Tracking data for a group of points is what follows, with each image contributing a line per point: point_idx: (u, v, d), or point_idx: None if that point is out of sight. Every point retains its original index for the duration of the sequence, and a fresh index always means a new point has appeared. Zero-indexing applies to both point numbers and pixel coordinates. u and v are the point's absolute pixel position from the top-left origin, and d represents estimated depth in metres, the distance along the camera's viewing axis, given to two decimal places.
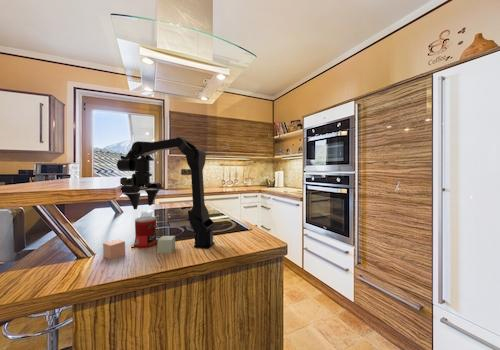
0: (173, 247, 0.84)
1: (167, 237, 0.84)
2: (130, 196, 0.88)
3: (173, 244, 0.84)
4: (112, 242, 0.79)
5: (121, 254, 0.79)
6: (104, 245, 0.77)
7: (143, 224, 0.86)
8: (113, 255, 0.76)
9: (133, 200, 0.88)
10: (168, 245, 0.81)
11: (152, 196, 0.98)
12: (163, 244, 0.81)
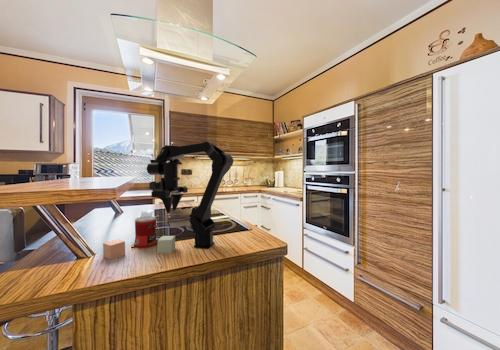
0: (173, 247, 0.84)
1: (167, 237, 0.84)
2: (163, 199, 0.90)
3: (173, 244, 0.84)
4: (112, 242, 0.79)
5: (121, 254, 0.79)
6: (104, 245, 0.77)
7: (143, 224, 0.86)
8: (113, 255, 0.76)
9: (166, 203, 0.90)
10: (168, 245, 0.81)
11: (176, 201, 0.96)
12: (163, 244, 0.81)
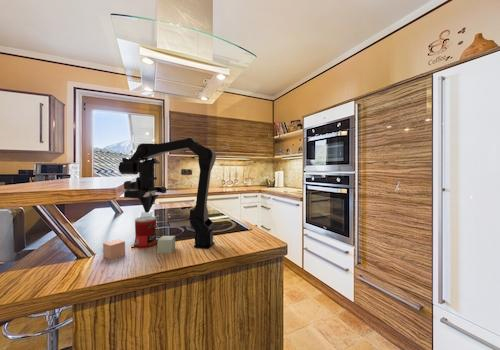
0: (173, 247, 0.84)
1: (167, 237, 0.84)
2: (142, 199, 0.88)
3: (173, 244, 0.84)
4: (112, 242, 0.79)
5: (121, 254, 0.79)
6: (104, 245, 0.77)
7: (143, 224, 0.86)
8: (113, 255, 0.76)
9: (145, 203, 0.88)
10: (168, 245, 0.81)
11: None
12: (163, 244, 0.81)
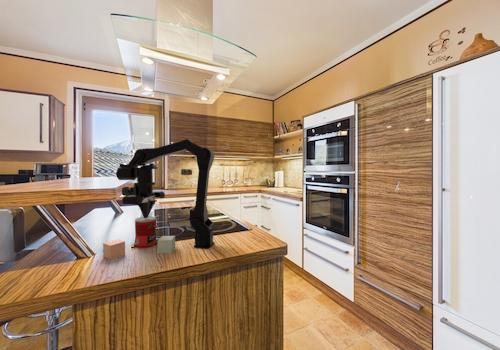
0: (173, 247, 0.84)
1: (167, 237, 0.84)
2: (140, 205, 0.88)
3: (173, 244, 0.84)
4: (112, 242, 0.79)
5: (121, 254, 0.79)
6: (104, 245, 0.77)
7: (143, 224, 0.86)
8: (113, 255, 0.76)
9: (143, 209, 0.88)
10: (168, 245, 0.81)
11: None
12: (163, 244, 0.81)
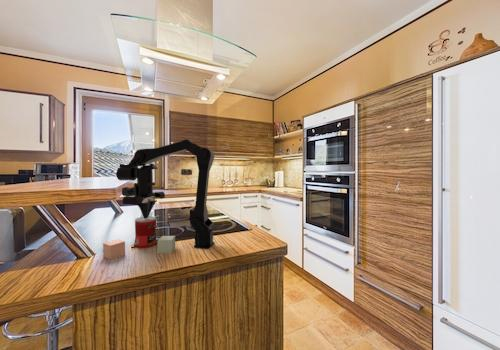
0: (173, 247, 0.84)
1: (167, 237, 0.84)
2: (140, 205, 0.88)
3: (173, 244, 0.84)
4: (112, 242, 0.79)
5: (121, 254, 0.79)
6: (104, 245, 0.77)
7: (143, 224, 0.86)
8: (113, 255, 0.76)
9: (143, 209, 0.88)
10: (168, 245, 0.81)
11: None
12: (163, 244, 0.81)
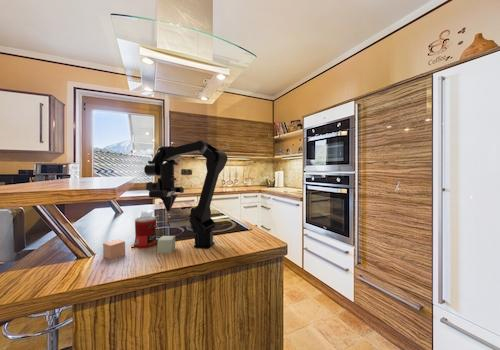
0: (173, 247, 0.84)
1: (167, 237, 0.84)
2: (163, 199, 0.93)
3: (173, 244, 0.84)
4: (112, 242, 0.79)
5: (121, 254, 0.79)
6: (104, 245, 0.77)
7: (143, 224, 0.86)
8: (113, 255, 0.76)
9: (166, 203, 0.94)
10: (168, 245, 0.81)
11: None
12: (163, 244, 0.81)
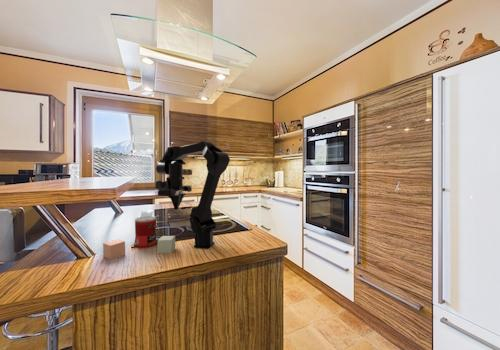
0: (173, 247, 0.84)
1: (167, 237, 0.84)
2: (172, 197, 0.96)
3: (173, 244, 0.84)
4: (112, 242, 0.79)
5: (121, 254, 0.79)
6: (104, 245, 0.77)
7: (143, 224, 0.86)
8: (113, 255, 0.76)
9: (174, 201, 0.96)
10: (168, 245, 0.81)
11: None
12: (163, 244, 0.81)
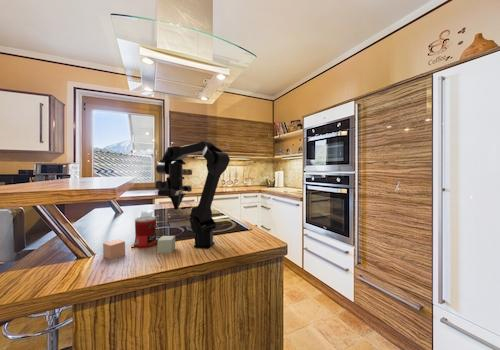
0: (173, 247, 0.84)
1: (167, 237, 0.84)
2: (172, 197, 0.96)
3: (173, 244, 0.84)
4: (112, 242, 0.79)
5: (121, 254, 0.79)
6: (104, 245, 0.77)
7: (143, 224, 0.86)
8: (113, 255, 0.76)
9: (174, 201, 0.96)
10: (168, 245, 0.81)
11: None
12: (163, 244, 0.81)
